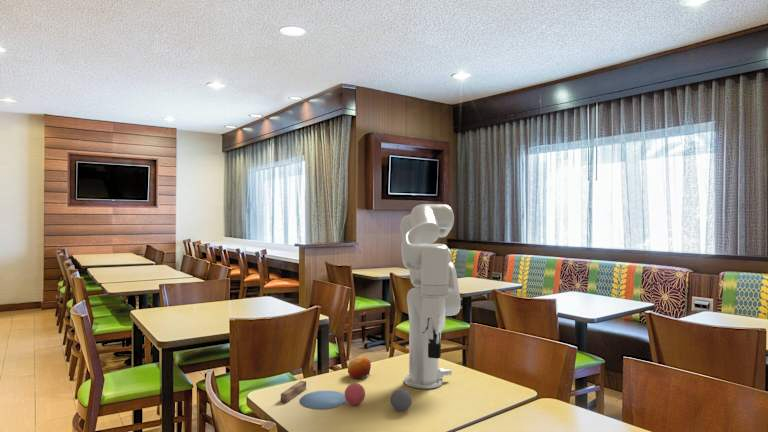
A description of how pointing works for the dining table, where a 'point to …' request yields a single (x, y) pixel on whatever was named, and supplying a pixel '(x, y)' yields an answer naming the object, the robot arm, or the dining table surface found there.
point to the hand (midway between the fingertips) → (434, 357)
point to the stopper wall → (293, 391)
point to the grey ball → (400, 400)
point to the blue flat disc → (323, 399)
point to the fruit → (359, 367)
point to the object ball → (354, 394)
